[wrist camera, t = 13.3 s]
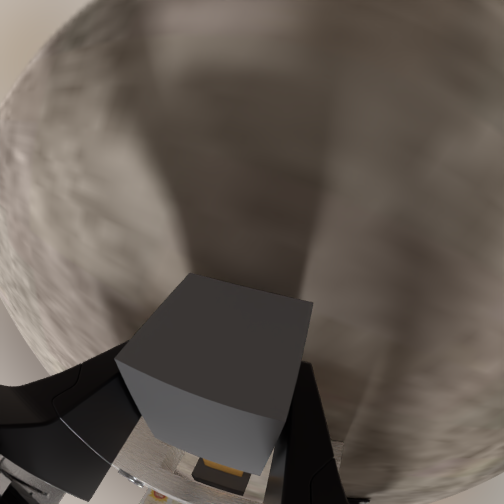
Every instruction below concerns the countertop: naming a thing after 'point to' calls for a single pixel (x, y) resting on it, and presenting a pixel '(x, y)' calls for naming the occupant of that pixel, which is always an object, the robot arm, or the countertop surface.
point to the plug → (218, 374)
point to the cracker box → (156, 498)
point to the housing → (172, 469)
